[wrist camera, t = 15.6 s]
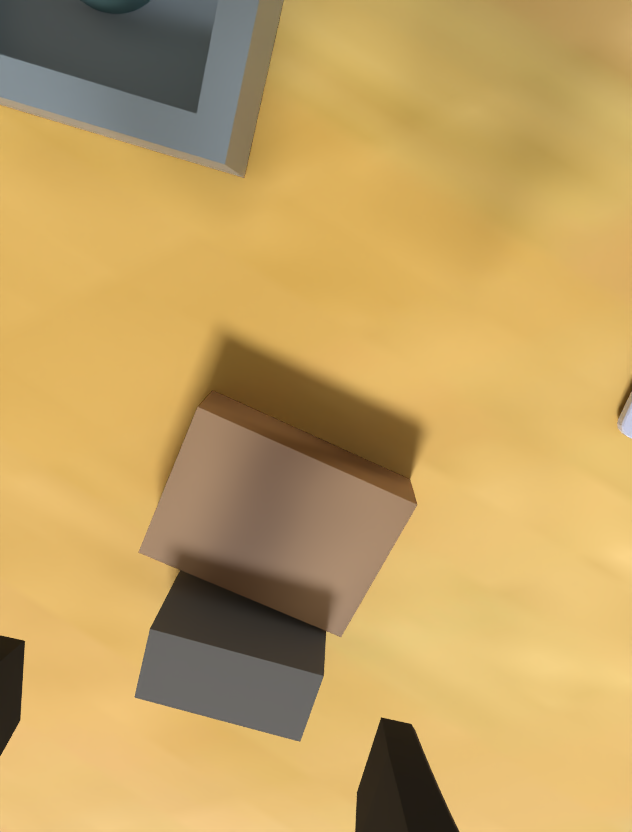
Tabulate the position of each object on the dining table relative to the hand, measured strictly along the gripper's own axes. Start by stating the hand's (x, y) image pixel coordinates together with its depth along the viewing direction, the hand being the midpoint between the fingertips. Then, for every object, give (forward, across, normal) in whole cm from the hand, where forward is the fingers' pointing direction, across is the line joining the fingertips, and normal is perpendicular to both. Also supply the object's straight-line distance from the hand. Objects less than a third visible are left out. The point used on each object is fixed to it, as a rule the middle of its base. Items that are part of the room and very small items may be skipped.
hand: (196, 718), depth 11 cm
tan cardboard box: (+11, 0, 0) cm, 11 cm away
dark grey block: (+10, 0, +6) cm, 12 cm away
